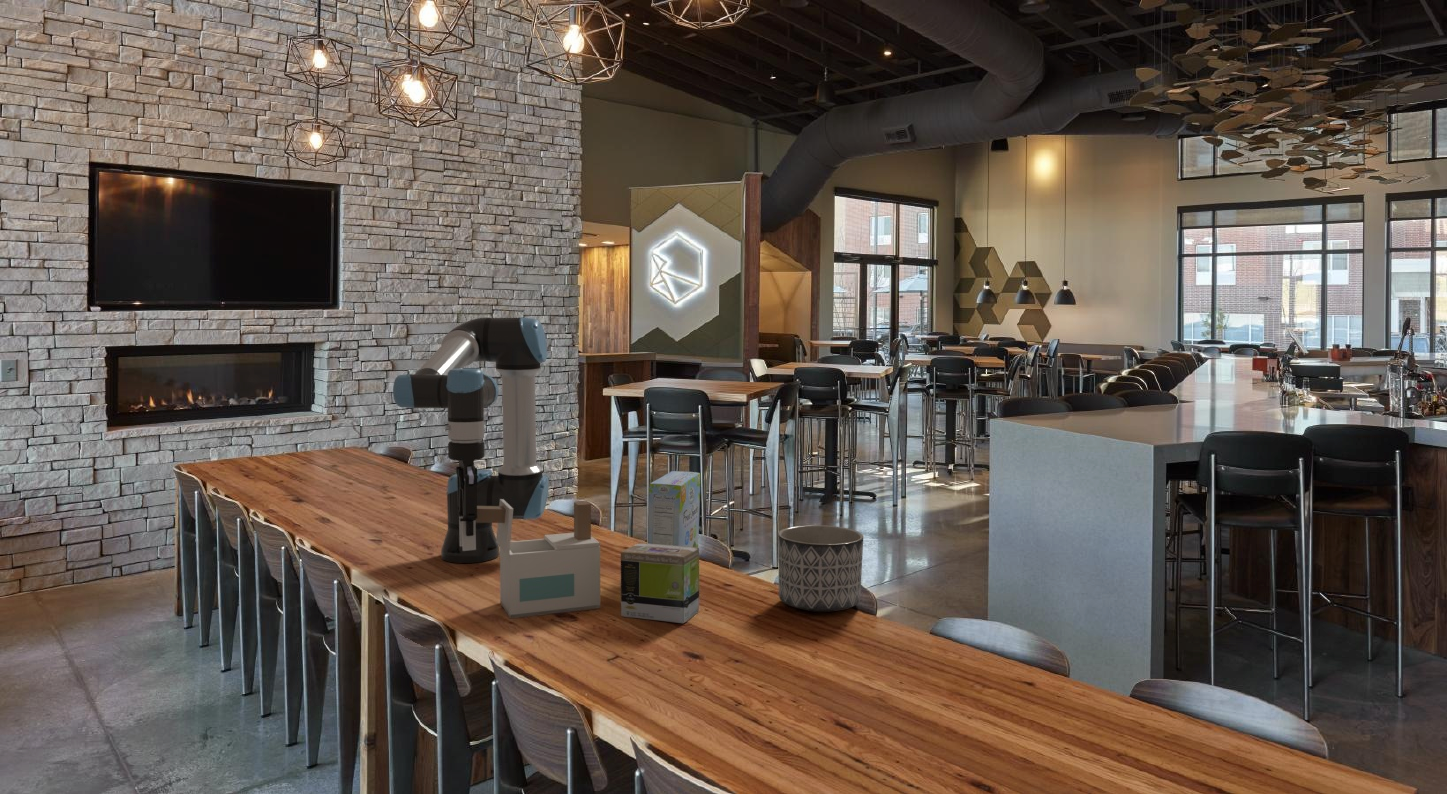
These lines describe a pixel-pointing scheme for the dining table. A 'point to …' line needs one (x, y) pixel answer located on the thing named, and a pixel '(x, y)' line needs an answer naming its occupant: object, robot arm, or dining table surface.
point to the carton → (552, 571)
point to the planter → (820, 567)
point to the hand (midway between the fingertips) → (467, 547)
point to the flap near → (500, 516)
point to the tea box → (660, 582)
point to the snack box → (674, 509)
